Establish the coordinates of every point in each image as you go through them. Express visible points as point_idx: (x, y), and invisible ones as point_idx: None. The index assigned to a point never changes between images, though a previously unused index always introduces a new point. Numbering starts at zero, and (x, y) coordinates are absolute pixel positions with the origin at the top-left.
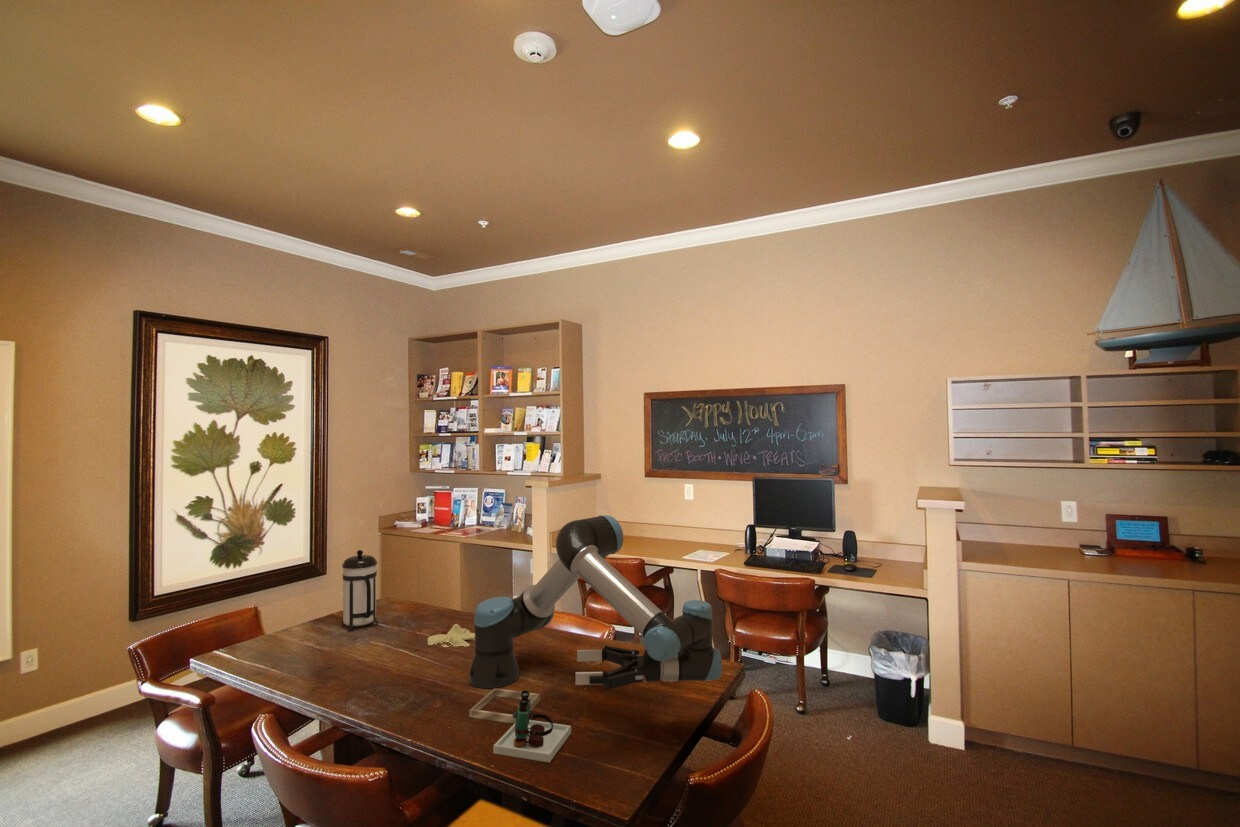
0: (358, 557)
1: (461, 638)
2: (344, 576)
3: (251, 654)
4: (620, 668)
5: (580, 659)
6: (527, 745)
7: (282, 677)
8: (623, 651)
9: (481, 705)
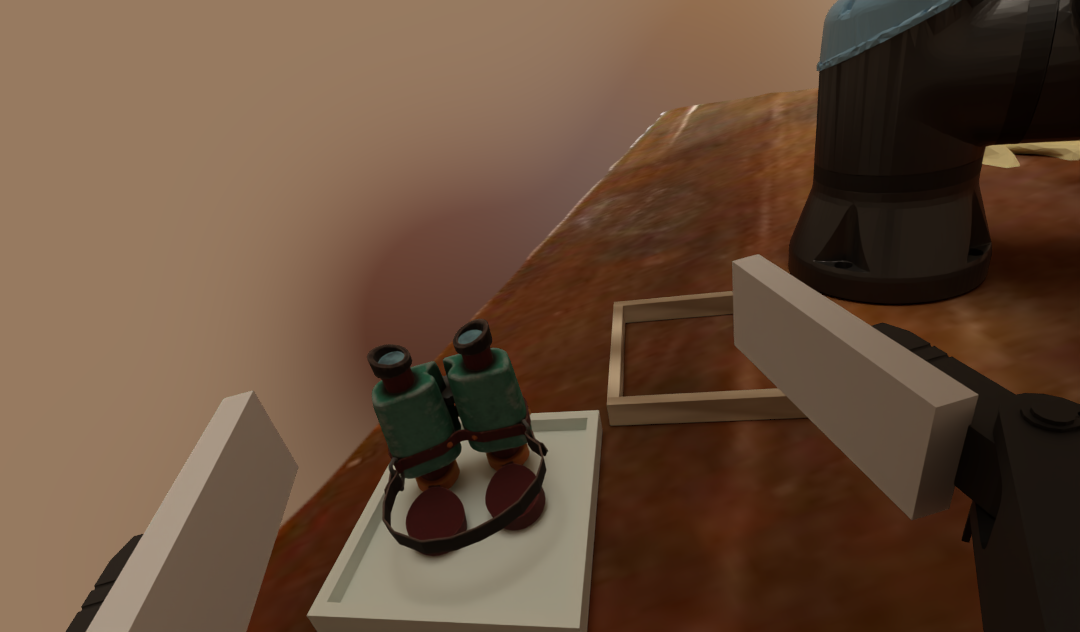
0: None
1: (1014, 144)
2: None
3: (708, 111)
4: None
5: (750, 344)
6: None
7: (661, 143)
8: None
9: (672, 310)
